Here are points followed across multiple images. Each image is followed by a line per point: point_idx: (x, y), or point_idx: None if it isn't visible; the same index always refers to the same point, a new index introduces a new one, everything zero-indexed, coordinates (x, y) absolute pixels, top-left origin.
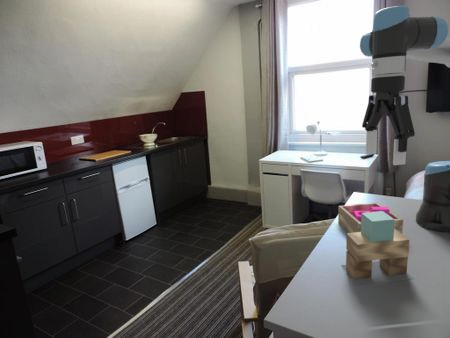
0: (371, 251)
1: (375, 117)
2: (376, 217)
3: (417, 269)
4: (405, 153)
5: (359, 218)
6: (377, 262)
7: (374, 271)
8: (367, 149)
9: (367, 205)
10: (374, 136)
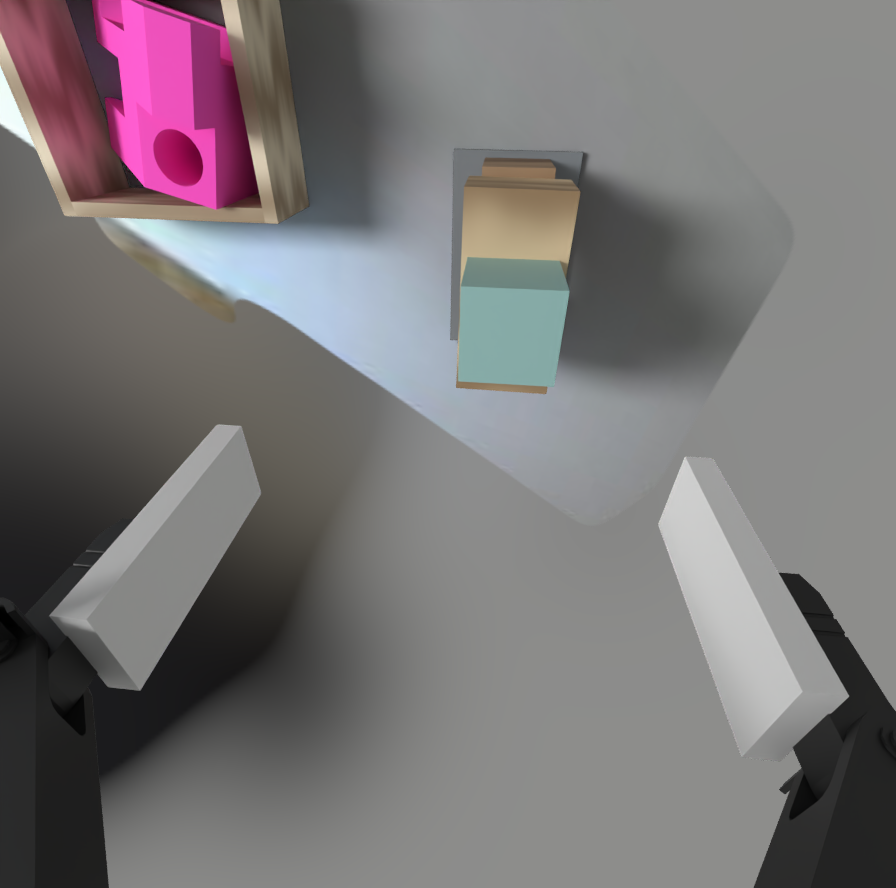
0: None
1: None
2: (521, 351)
3: (528, 85)
4: (751, 534)
5: (220, 194)
6: (459, 219)
7: None
8: (241, 521)
9: (6, 30)
10: (149, 577)
